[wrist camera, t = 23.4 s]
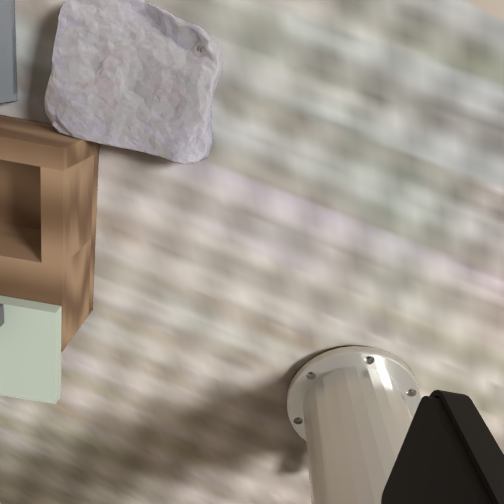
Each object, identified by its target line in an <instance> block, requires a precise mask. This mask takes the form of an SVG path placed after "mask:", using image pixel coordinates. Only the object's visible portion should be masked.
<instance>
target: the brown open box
mask: <svg viewBox="0 0 504 504" xmlns="http://www.w3.org/2000/svg"><path fill="white" fill-rule="evenodd" d="M98 160H99V143H96V142H92V141H87V140H82V139H79V138H75V137H72V136H69V135H66V134H63V133H59V132H58V131H57V130H56V129H55V128H54V127H53V126H52V124H48V123H42V122H37V121H31V120H26V119H20V118H15V117H10V116H4V115H0V295H1V296H6V297H12V298H18V299H24V300H30V301H35V302H41V303H47V304H53V305H59V306H62V324H61V352H62V351H63V350H64V349H65V347H66V346H67V344H68V343H69V342H70V340H71V339H72V337H73V336H74V335H75V333H76V332H77V331H78V329H79V328H80V326H81V325H82V324H83V322H84V321H85V320H86V318H87V317H88V315H89V314H90V313H91V311H92V310H93V287H94V261H95V236H96V211H97V185H98Z"/></svg>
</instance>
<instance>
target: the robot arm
mask: <svg viewBox="0 0 504 504" xmlns="http://www.w3.org/2000/svg"><path fill="white" fill-rule="evenodd" d="M287 412H288V416H289V420H290V422H291V424H292V426H293V428H294V430H295V431H296V432H297V433H298V435H299V436H300V437H301V438H302V439H303V440H305V441H306V444H307V456H308V467H309V478H310V490H311V501H312V504H504V455H503V453H502V451H501V449H500V448H499V446H498V444H497V443H496V441H495V439H494V438H493V436H492V434H491V432H490V431H489V429H488V427H487V426H486V424H485V422H484V421H483V419H482V417H481V415H480V414H479V412H478V410H477V409H476V407H475V405H474V404H473V402H472V400H471V399H470V398H469V397H468V396H466V395H464V394H458V393H452V392H446V391H440V390H435V391H433V392H432V393H431V395H430V396H424V397H423V398H422V399H421V394H420V390H419V386H418V384H417V382H416V379H415V377H414V376H413V374H412V373H411V371H410V369H409V368H408V367H407V366H406V365H405V364H404V363H403V362H402V361H401V360H399V359H398V358H396V357H395V356H393V355H391V354H389V353H387V352H384V351H382V350H379V349H375V348H370V347H361V346H350V347H341V348H337V349H333V350H329V351H327V352H324V353H322V354H320V355H318V356H316V357H314V358H313V359H311V360H310V361H308V362H307V363H306V364H305V365H304V366H303V367H302V368H301V369H300V370H299V371H298V372H297V373H296V375H295V376H294V378H293V379H292V381H291V384H290V386H289V389H288V394H287Z"/></svg>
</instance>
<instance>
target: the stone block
mask: <svg viewBox="0 0 504 504" xmlns="http://www.w3.org/2000/svg"><path fill="white" fill-rule="evenodd" d="M57 27H58V28H57V30H56V35H55V40H54V46H53V54H52V71H51V74H50V77H49V81H48V85H47V88H46V92H45V100H44V104H45V112H46V115H47V117H48V118H49V119H50V121H51V123H52V126H53V127H54V128H55V129H56V130H57V131H58V132H59V133H63V134H66V135H69V136H72V137H75V138H79V139H82V140H87V141H92V142H96V143H100V144H104V145H109V146H114V147H120V148H126V149H132V150H136V151H141V152H145V153H148V154H151V155H155V156H159V157H162V158H164V159H167V160H169V161H172V162H177V163H181V164H193V163H196V162H198V161H201V160H203V159H206V158H207V157H208V154H209V152H210V149H211V146H212V125H211V119H212V110H211V108H212V102H213V94H214V91H215V90H216V88H217V85H218V82H219V78H220V75H221V73H222V69H223V61H222V54H221V49H220V47H219V45H218V43H217V42H216V41H215V40H214V39H213V38H212V37H211V36H210V35H209V34H208V33H207V32H206V31H205V30H203V29H202V28H201V27H199V26H197V25H194V24H192V23H187V22H185V21H183V20H181V19H179V18H177V17H175V16H174V15H172V14H171V13H170V12H168V11H166V10H164V9H161V8H159V7H157V6H155V5H153V4H151V3H149V2H146V1H143V0H65V2H64V3H63V5H62V7H61V9H60V11H59V16H58V25H57Z"/></svg>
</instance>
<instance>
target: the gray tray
mask: <svg viewBox="0 0 504 504" xmlns="http://www.w3.org/2000/svg"><path fill="white" fill-rule="evenodd" d="M11 101H18V99H17V67H16V34H15V2H14V0H0V103H5V102H11Z"/></svg>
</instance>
